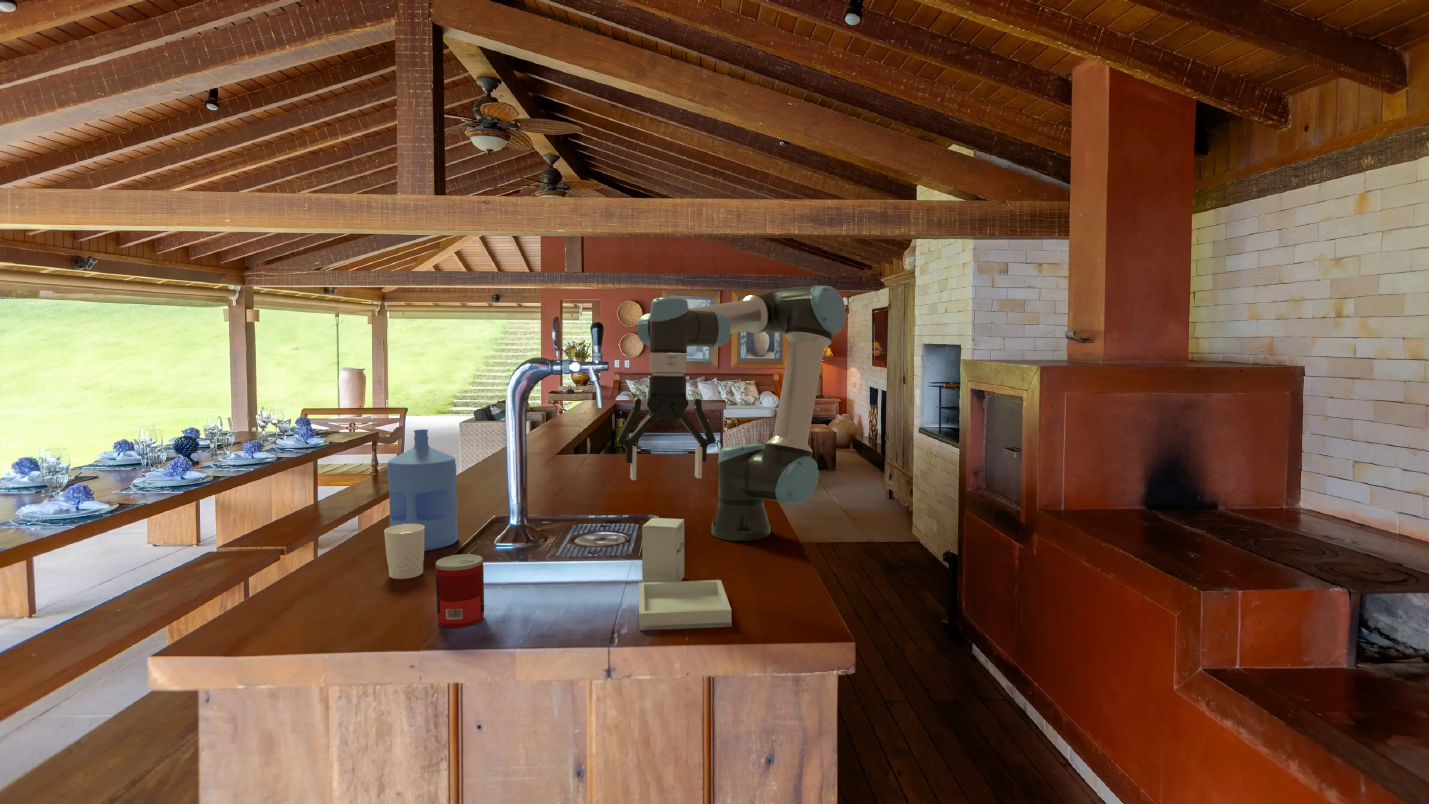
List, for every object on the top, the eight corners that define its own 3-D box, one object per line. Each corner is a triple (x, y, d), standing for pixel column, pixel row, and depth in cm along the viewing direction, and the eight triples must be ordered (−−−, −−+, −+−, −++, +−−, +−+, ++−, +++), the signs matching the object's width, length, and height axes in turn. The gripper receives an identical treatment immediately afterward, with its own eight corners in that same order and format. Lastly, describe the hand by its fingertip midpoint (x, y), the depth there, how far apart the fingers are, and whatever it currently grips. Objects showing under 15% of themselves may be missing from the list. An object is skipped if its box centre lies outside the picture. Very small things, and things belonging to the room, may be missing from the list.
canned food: (492, 620, 130) (490, 560, 129) (448, 632, 125) (446, 569, 124) (472, 608, 136) (470, 551, 135) (430, 620, 130) (428, 560, 129)
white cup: (390, 582, 150) (389, 535, 149) (382, 573, 156) (380, 527, 156) (430, 575, 155) (429, 529, 154) (420, 566, 161) (419, 521, 160)
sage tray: (638, 597, 142) (638, 582, 141) (720, 594, 143) (720, 579, 143) (639, 630, 126) (639, 613, 125) (731, 626, 127) (731, 609, 127)
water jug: (407, 534, 187) (404, 426, 185) (468, 535, 187) (465, 426, 184) (377, 552, 172) (372, 434, 169) (443, 553, 171) (439, 434, 169)
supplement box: (676, 589, 147) (676, 527, 146) (641, 586, 148) (640, 525, 147) (685, 577, 154) (685, 518, 153) (651, 575, 155) (651, 516, 154)
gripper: (608, 374, 141) (607, 483, 142) (732, 376, 148) (729, 479, 149) (603, 373, 148) (602, 476, 150) (721, 374, 155) (719, 473, 156)
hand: (666, 478), depth 149 cm, fingers open, 13 cm apart
